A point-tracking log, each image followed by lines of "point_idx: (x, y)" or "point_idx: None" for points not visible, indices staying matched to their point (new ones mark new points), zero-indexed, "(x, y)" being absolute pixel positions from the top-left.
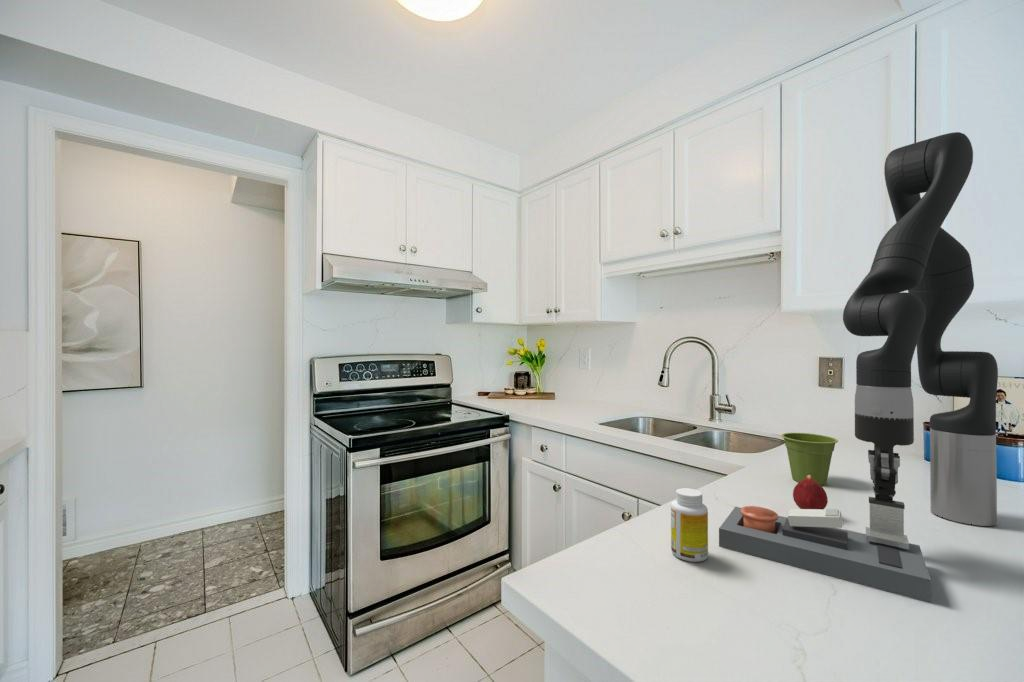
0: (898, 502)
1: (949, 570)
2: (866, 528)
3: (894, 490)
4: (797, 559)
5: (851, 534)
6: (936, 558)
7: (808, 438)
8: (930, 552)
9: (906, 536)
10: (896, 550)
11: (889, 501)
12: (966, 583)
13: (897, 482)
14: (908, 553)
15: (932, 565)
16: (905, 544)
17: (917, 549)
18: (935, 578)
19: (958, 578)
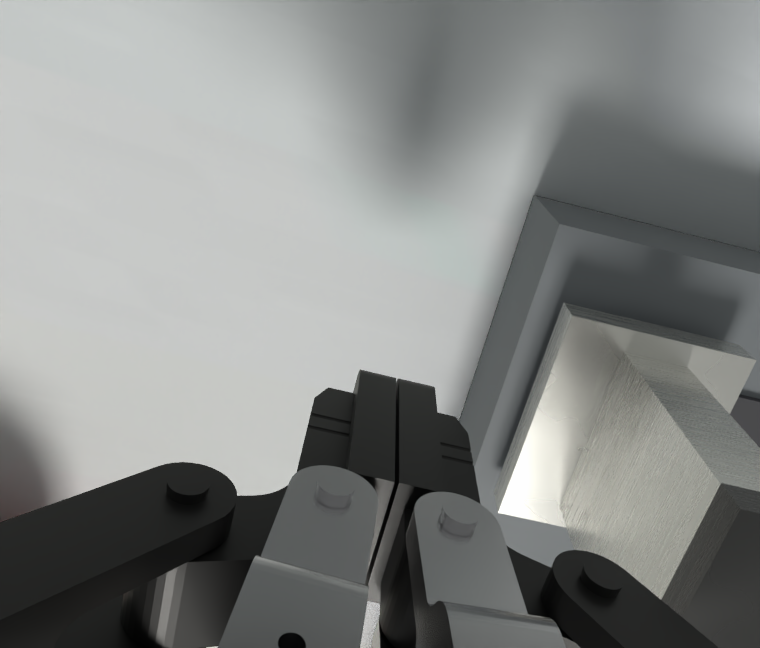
0: (755, 552)
1: (556, 49)
2: (524, 514)
3: (707, 641)
4: None
5: (514, 547)
6: (378, 49)
7: None
8: (281, 45)
9: (598, 324)
10: (736, 404)
11: (745, 616)
12: (725, 31)
13: (552, 625)
14: (739, 342)
15: (512, 122)
16: (747, 375)
17: (650, 265)
18: (704, 180)
19: (664, 47)
